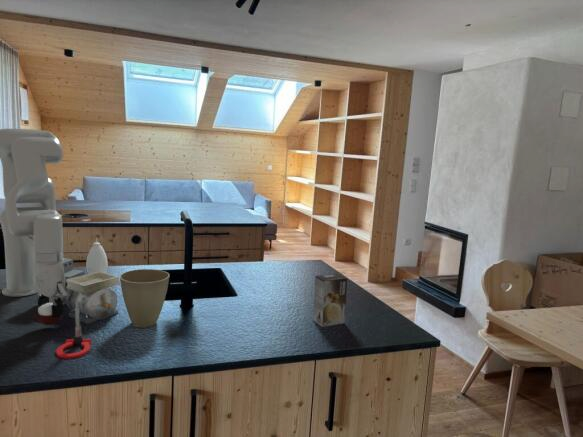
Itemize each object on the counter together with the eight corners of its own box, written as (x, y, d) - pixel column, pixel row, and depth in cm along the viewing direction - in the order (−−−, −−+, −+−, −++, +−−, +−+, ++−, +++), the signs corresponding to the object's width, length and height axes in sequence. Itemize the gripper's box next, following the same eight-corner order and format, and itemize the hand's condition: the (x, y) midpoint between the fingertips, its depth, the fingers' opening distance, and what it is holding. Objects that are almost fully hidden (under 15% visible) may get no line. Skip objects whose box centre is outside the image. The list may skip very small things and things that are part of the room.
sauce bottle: (94, 275, 185) (93, 234, 182) (111, 277, 184) (110, 235, 181) (82, 281, 178) (81, 237, 175) (100, 283, 177) (100, 239, 174)
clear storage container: (61, 315, 143) (60, 278, 141) (97, 304, 154) (97, 269, 152) (90, 327, 135) (89, 288, 133) (126, 314, 146) (125, 278, 144)
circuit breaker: (75, 309, 149) (73, 266, 146) (38, 304, 152) (36, 262, 149) (89, 301, 156) (88, 261, 154) (54, 297, 159) (52, 257, 156)
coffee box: (334, 316, 154) (337, 272, 152) (345, 323, 149) (348, 278, 146) (312, 320, 150) (315, 275, 148) (321, 327, 145) (325, 280, 142)
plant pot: (149, 336, 131) (149, 285, 129) (109, 327, 136) (108, 277, 134) (178, 319, 145) (178, 272, 143) (141, 311, 150) (141, 266, 148)
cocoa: (32, 329, 129) (28, 291, 127) (37, 319, 135) (33, 283, 132) (68, 325, 132) (64, 288, 130) (71, 316, 138) (68, 280, 135)
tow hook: (84, 359, 117) (95, 342, 126) (82, 314, 114) (93, 300, 123) (51, 360, 116) (64, 343, 125) (48, 315, 113) (61, 300, 122)
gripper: (20, 252, 131) (22, 309, 134) (52, 265, 122) (54, 325, 125) (45, 248, 137) (47, 302, 141) (78, 259, 128) (79, 317, 132)
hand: (50, 312), depth 133 cm, fingers closed on cocoa, 6 cm apart
